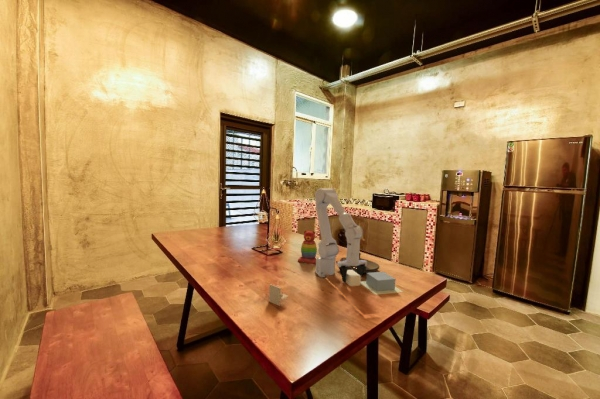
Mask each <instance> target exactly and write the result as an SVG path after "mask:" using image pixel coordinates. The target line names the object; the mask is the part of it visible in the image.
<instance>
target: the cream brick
mask: <svg viewBox="0 0 600 399" xmlns="http://www.w3.org/2000/svg"><path fill="white" fill-rule="evenodd" d="M360 281H362V277H361V276H360V275H359V274H358V273H356V272H355V271H353V270H347V274H346V282H345V284H347V285H348V286H349V287H357V286H361V283H360Z"/></svg>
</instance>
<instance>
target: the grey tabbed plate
mask: <svg viewBox="0 0 600 399" xmlns="http://www.w3.org/2000/svg"><path fill="white" fill-rule="evenodd" d="M279 286H280V284H279V285H278V284H277V285H276V286H275V285H274V284H272V283H271V284H270V283H269V291H268V302H269V303H271V304H274V305H277V306H279V307H280V306H281V300H285V299H287V298H288V297H289V295H288V294H285V293H284V292H282V291H281V290H282V288H281V287H279Z"/></svg>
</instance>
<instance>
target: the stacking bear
mask: <svg viewBox="0 0 600 399" xmlns="http://www.w3.org/2000/svg"><path fill="white" fill-rule="evenodd" d="M315 238H316V232H315V231H311V230H304V231H303V241H302V244H301V247H300V252H301V253H300V254H301V256H300V257H299V258H298V259H297V262H298V263H305V264H311V265H316V259H317V257H316V256H317V253H318V248H317V243H316V241H315Z"/></svg>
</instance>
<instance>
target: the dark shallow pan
mask: <svg viewBox="0 0 600 399" xmlns="http://www.w3.org/2000/svg"><path fill="white" fill-rule="evenodd" d="M345 260H346V256H345V257H341V258H340V259H339V262H340V261H345ZM359 260H366V261H367V265H365V266H366V269H365V271H364V272H363V274H367V273H372V272H375V271H377V270H379V269H380V264H378V263H377V262H375V261H372V260H369V259H366V258H361V252H360V251H359ZM337 262H338V260H337V261H336V260H335V264H337ZM345 267H346V269H348V270H353V271H355V272H356V273H357V269H356V268H357V266H345ZM352 267H355V268H352Z"/></svg>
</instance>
